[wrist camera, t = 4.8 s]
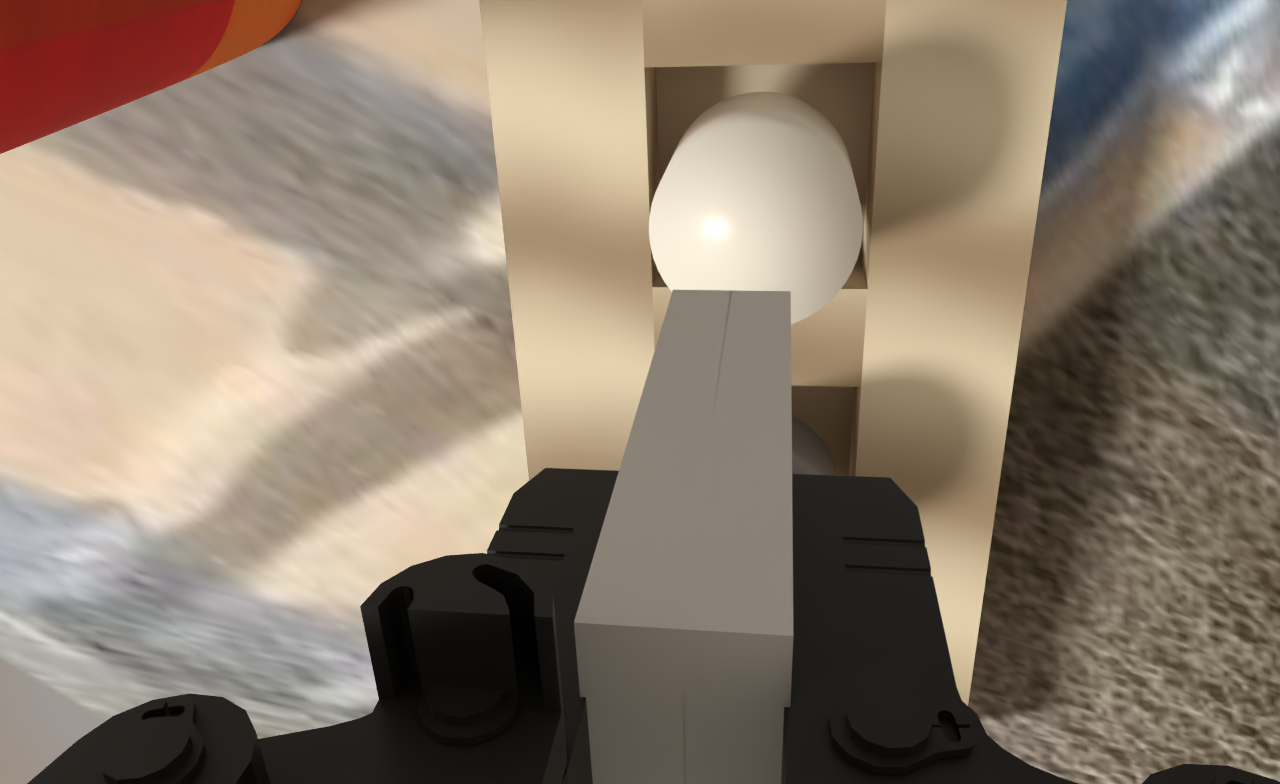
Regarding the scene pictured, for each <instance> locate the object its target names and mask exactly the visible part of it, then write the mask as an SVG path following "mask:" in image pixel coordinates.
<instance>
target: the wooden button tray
mask: <svg viewBox="0 0 1280 784" xmlns="http://www.w3.org/2000/svg"><path fill="white" fill-rule="evenodd" d="M479 1H480V10H481V20H482V29H483V39H484V49H485V58H486V68H487V78H488V87H489V97H490V107H491V116H492V126H493V135H494V145H495V155H496V164H497V174H498V184H499V193H500V203H501V212H502V222H503V232H504V241H505V251H506V261H507V270H508V280H509V289H510V299H511V309H512V318H513V328H514V338H515V347H516V357H517V367H518V376H519V386H520V395H521V405H522V415H523V424H524V434H525V444H526V453H527V463H528V472H529V481H530V480H531V479H532V478H533V477H535V476H536V475H537V474H538V473H539V472H541V471H542V470H543V469H544V468H563V469H589V470H615V471H619V469H620V466H621V462H622V459H623V456H624V452H625V449H626V446H627V442H628V439H629V435H630V432H631V429H632V425H633V422H634V419H635V415H636V412H637V409H638V405H639V402H640V398H641V395H642V392H643V388H644V385H645V382H646V378H647V375H648V372H649V368H650V365H651V361H652V358H653V355H654V351H655V348H656V345H657V341H658V338H659V334H660V331H661V328H662V324H663V321H664V318H665V314H666V311H667V308H668V304H669V301H670V297H671V294H672V292H671V290H670V289H669V288H668V286H667V285H666V283H665V282H664V280H663V278H662V277H661V275H660V273H659V271H658V269H657V266H656V264H655V261H654V259H653V255H652V251H651V246H650V239H649V217H650V211H651V205H652V202H653V199H654V195H655V192H656V190H657V188H658V186H659V184H660V181H661V179H662V177H663V175H664V173H665V171H666V169H667V167H668V165H669V162H670V160H671V158H672V156H673V154H674V152H675V150H676V148H677V146H678V144H679V141H680V140H681V138H682V137H683V135H684V133H685V132H686V130H687V129H688V128H689V127H690V125H691V124H692V123H693V122H694V121H695V120H696V119H697V118H698V117H699V116H700V115H701V114H702V113H703V112H705V111H706V110H708V109H709V108H710V107H712V106H713V105H715V104H717V103H719V102H721V101H723V100H725V99H728V98H730V97H733V96H736V95H740V94H745V93H751V92H774V93H780V94H785V95H788V96H791V97H794V98H797V99H799V100H801V101H803V102H805V103H807V104H809V105H811V106H812V107H814V108H815V109H817V110H818V111H819V112H820V113H821V114H823V115H824V116H825V117H826V118H827V119H828V120H829V121H830V122H831V124H832V125H833V126H834V127H835V128H836V130H837V132H838V133H839V135H840V136H841V138H842V140H843V142H844V144H845V147H846V149H847V152H848V155H849V159H850V162H851V167H852V171H853V175H854V179H855V183H856V188H857V192H858V196H859V200H860V204H861V211H862V218H863V234H862V242H861V248H860V251H859V255H858V259H857V261H856V263H855V266H854V268H853V271H852V273H851V274H850V276H849V278H848V279H847V281H846V283H845V284H844V285H843V287H842V288H841V289H840V291H839V292H838V293H837V294H836V295H835V296H834V297H833V298H832V299H831V300H830V301H829V302H828V303H827V304H826V305H825V306H823V307H822V308H821V309H819V310H818V311H817V312H815V313H814V314H812V315H810V316H808V317H807V318H805V319H803V320H800V321H798V322H796V323H794V324H791V397H792V417H794V418H796V419H798V420H799V421H801V422H803V423H804V424H806V425H807V426H808V427H810V428H811V429H812V430H813V431H814V432H815V433H816V434H817V435H818V436H819V437H820V438H821V439H822V441H823V442H824V444H825V445H826V446H827V448H828V450H829V452H830V454H831V457H832V460H833V463H834V467H835V473H836V476H861V477H887V478H891V479H892V480H893V481H894V482H895V483H896V484H897V485H898V486H899V488H900V489H901V490H902V491H903V492H904V493H905V494H906V495H907V496H908V497H909V498H910V499H911V500H912V501H913V502H914V503H915V505H916V506H917V507H918V510H919V515H920V520H921V524H922V529H923V534H924V538H925V547H927V552H928V557H929V561H930V566H931V576H933V580H934V585H935V589H936V594H937V598H938V603H939V608H940V612H941V617H942V622H943V626H944V631H945V636H946V640H947V645H948V649H949V654H950V659H951V663H952V668H953V673H954V677H955V682H956V687H957V690H958V692H959V695H960V697H961V700H962V701H963V702H964V703H965V704H966V705H967V706H968V702H969V695H970V688H971V681H972V674H973V666H974V659H975V652H976V645H977V638H978V631H979V624H980V617H981V610H982V603H983V595H984V588H985V581H986V574H987V567H988V560H989V553H990V546H991V539H992V532H993V524H994V517H995V510H996V503H997V496H998V489H999V482H1000V475H1001V468H1002V460H1003V453H1004V446H1005V439H1006V432H1007V425H1008V418H1009V411H1010V404H1011V397H1012V389H1013V382H1014V375H1015V368H1016V361H1017V354H1018V347H1019V340H1020V333H1021V326H1022V318H1023V311H1024V304H1025V297H1026V290H1027V283H1028V276H1029V269H1030V262H1031V254H1032V247H1033V240H1034V233H1035V226H1036V219H1037V212H1038V205H1039V198H1040V191H1041V183H1042V176H1043V169H1044V162H1045V155H1046V148H1047V141H1048V134H1049V127H1050V120H1051V112H1052V105H1053V98H1054V91H1055V84H1056V77H1057V70H1058V63H1059V56H1060V48H1061V41H1062V34H1063V27H1064V20H1065V13H1066V6H1067V0H479Z"/></svg>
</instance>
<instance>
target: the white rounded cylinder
mask: <svg viewBox="0 0 1280 784" xmlns="http://www.w3.org/2000/svg"><path fill="white" fill-rule="evenodd" d="M862 234H863V218H862V211H861V204H860V200H859V196H858V192H857V188H856V183H855V179H854V175H853V171H852V167H851V162H850V159H849V155H848V152H847V149H846V147H845V144H844V142H843V140H842V138H841V136H840V135H839V133H838V132H837V130H836V128H835V127H834V126H833V125H832V124H831V122H830V121H829V120H828V119H827V118H826V117H825V116H824V115H823V114H821V113H820V112H819V111H818V110H817V109H815V108H814V107H812V106H811V105H809V104H807V103H805V102H803V101H801V100H799V99H797V98H794V97H791V96H788V95H785V94H780V93H774V92H751V93H745V94H740V95H736V96H733V97H730V98H728V99H725V100H723V101H721V102H719V103H717V104H715V105H713V106H712V107H710V108H709V109H708V110H706V111H705V112H703V113H702V114H701V115H700V116H699V117H698V118H697V119H696V120H695V121H694V122H693V123H692V124H691V125H690V127H689V128H688V129H687V130H686V132H685V133H684V135H683V137H682V138H681V140H680V141H679V144H678V146H677V148H676V150H675V152H674V154H673V156H672V158H671V160H670V162H669V165H668V167H667V169H666V171H665V173H664V175H663V177H662V179H661V181H660V184H659V186H658V188H657V190H656V192H655V195H654V199H653V202H652V205H651V211H650V217H649V239H650V246H651V251H652V255H653V259H654V261H655V264H656V266H657V269H658V271H659V273H660V275H661V277H662V278H663V280H664V282H665V283H666V285H667V286H668V288H669V289H670V290H671V292H672V291H673V290H737V291H791V324H794V323H796V322H798V321H800V320H803V319H805V318H807V317H808V316H810V315H812V314H814V313H815V312H817V311H818V310H819V309H821V308H822V307H823V306H825V305H826V304H827V303H828V302H829V301H830V300H831V299H832V298H833V297H834V296H835V295H836V294H837V293H838V292H839V291H840V289H841V288H842V287H843V285H844V284H845V283H846V281H847V279H848V278H849V276H850V274H851V273H852V271H853V268H854V266H855V263H856V261H857V259H858V255H859V251H860V248H861V242H862Z"/></svg>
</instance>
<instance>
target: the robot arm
mask: <svg viewBox="0 0 1280 784" xmlns="http://www.w3.org/2000/svg"><path fill="white" fill-rule="evenodd" d="M360 607H361V612H362V617H363V622H364V627H365V632H366V637H367V642H368V647H369V652H370V657H371V662H372V666H373V671H374V676H375V681H376V686H377V691H378V696H379V701H378V703H377V705H376V706H375V708H374V710H373V712H372V713H371V714H369V715H366V716H364V717H362V718H359V719H356V720H352V721H348V722H344V723H341V724H337V725H333V726H329V727H323V728H318V729H312V730H306V731H301V732H295V733H290V734H284V735H279V736H273V737H268V738H262V739H258V738H257V734H256V731H255V729H254V727H253V725H252V723H251V721H250V719H249V716H248V714H247V712H246V710H244V709H242V708H241V707H239V706H237V705H235V704H234V703H232V702H230V701H229V700H227V699H225V698H223V697H217V696H208V695H198V694H185V695H179V696H174V697H168V698H162V699H156V700H152V701H149V702H147V703H144V704H142V705H139V706H137V707H134V708H132V709H130V710H127V711H125V712H122V713H120V714H117V715H115V716H113V717H111V718H110V719H108V720H107V721H106V722H104V723H103V724H101V725H100V726H98V727H97V728H95V729H94V730H92V731H91V732H89V733H88V734H86V735H85V736H83V737H82V738H81V739H79V740H78V741H77V742H76V743H74V744H73V745H72V746H71V747H70V748H68V749H67V750H66V751H65V752H64V753H63V754H61V756H59V757H58V758H57V759H56V760H54V761H53V762H52V763H51V764H50V765H49V766H48V767H46V768H45V769H44V770H43V771H42V772H40V773H39V774H38V775H37V776H36V777H35V778H33V779H32V780H31V781H30V782H29V783H28V784H1078V783H1075V782H1071V781H1068V780H1065V779H1062V778H1060V777H1057V776H1055V775H1052V774H1050V773H1048V772H1045V771H1043V770H1040V769H1038V768H1035V767H1033V766H1031V765H1029V764H1027V763H1025V762H1024V761H1022V760H1021V759H1019V758H1017V757H1016V756H1014V755H1012V754H1011V753H1009V752H1008V751H1006V750H1004V749H1003V748H1001V747H1000V746H999V745H998V744H997V743H996V742H995V741H993V740H992V739H991V738H990V737H989V736H988V735H987V734H986V732H985V730H984V728H983V726H982V724H981V722H980V720H979V718H978V716H977V714H976V713H975V712H974V711H973V710H972V709H971V708H969V707H968V706H967V705H966V704H965V703H964V702H963V701H962V700H961V697H960V695H959V692H958V690H957V687H956V682H955V677H954V673H953V668H952V663H951V659H950V654H949V649H948V645H947V640H946V636H945V631H944V626H943V622H942V617H941V612H940V608H939V603H938V598H937V594H936V589H935V585H934V580H933V576H931V566H930V561H929V557H928V552H927V547H925V538H924V534H923V529H922V524H921V520H920V515H919V510H918V507H917V506H916V505H915V503H914V502H913V501H912V500H911V499H910V498H909V497H908V496H907V495H906V494H905V493H904V492H903V491H902V490H901V489H900V488H899V486H898V485H897V484H896V483H895V482H894V481H893V480H892V479H891V478H887V477H861V476H835V475H809V474H792V397H791V291H737V290H673V291H672V294H671V297H670V301H669V304H668V308H667V311H666V314H665V318H664V321H663V324H662V328H661V331H660V334H659V338H658V341H657V345H656V348H655V351H654V355H653V358H652V361H651V365H650V368H649V372H648V375H647V378H646V382H645V385H644V388H643V392H642V395H641V398H640V402H639V405H638V409H637V412H636V415H635V419H634V422H633V425H632V429H631V432H630V435H629V439H628V442H627V446H626V449H625V452H624V456H623V459H622V462H621V466H620V469H619V471H615V470H589V469H563V468H544V469H543V470H542V471H541V472H539V473H538V474H537V475H536V476H535V477H533V478H532V479H531V480H530V481H528V482H527V483H526V484H525V485H523V486H522V487H521V488H520V489H519V490H517V491H516V492H515V493H514V494H513V496H512V498H511V500H510V502H509V505H508V507H507V509H506V511H505V513H504V515H503V518H502V520H501V522H500V524H499V531H496V533H495V535H494V537H493V539H492V541H491V543H490V546H489V548H488V550H487V554H484V553H478V554H463V555H449V556H444V557H440V558H437V559H434V560H430V561H427V562H423V563H420V564H417V565H413V566H411V567H409V568H407V569H405V570H404V571H402V572H400V573H399V574H397V575H395V576H393V577H392V578H390V579H388V580H386V581H385V582H383V583H381V584H380V585H379V586H378V588H377V589H376V590H375V591H374V592H373V593H372V594H371V595H370V596H369V597H368V598H367V600H366V601H365V602H364V603H363V604H362V605H361V606H360ZM1142 784H1280V782H1278V781H1276V780H1273V779H1270V778H1267V777H1263V776H1260V775H1257V774H1253V773H1250V772H1247V771H1243V770H1240V769H1237V768H1233V767H1230V766H1221V765H1199V764H1182V765H1179V766H1176V767H1173V768H1170V769H1166V770H1163V771H1160V772H1157V773H1154V774H1151V775H1150V776H1149V777H1148V778H1147V779H1146V780H1145V781H1144V782H1143V783H1142Z"/></svg>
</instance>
